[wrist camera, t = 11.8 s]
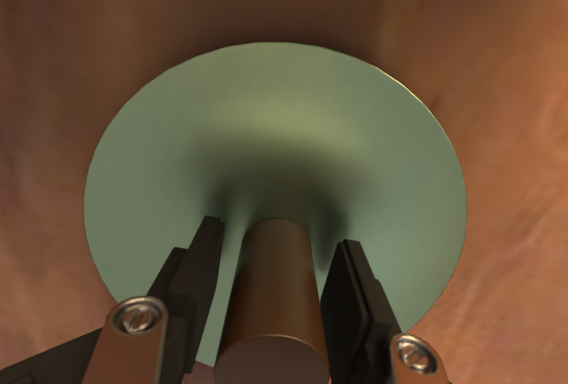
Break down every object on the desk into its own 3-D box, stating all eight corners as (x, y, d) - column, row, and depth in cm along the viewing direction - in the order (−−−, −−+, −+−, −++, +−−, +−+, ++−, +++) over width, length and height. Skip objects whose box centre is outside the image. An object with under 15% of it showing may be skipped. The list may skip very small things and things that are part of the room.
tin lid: (89, -2, 10) (-211, -96, 4) (520, 90, 11) (802, 130, 5) (104, 336, 16) (-7, 509, 10) (387, 373, 17) (445, 549, 11)
